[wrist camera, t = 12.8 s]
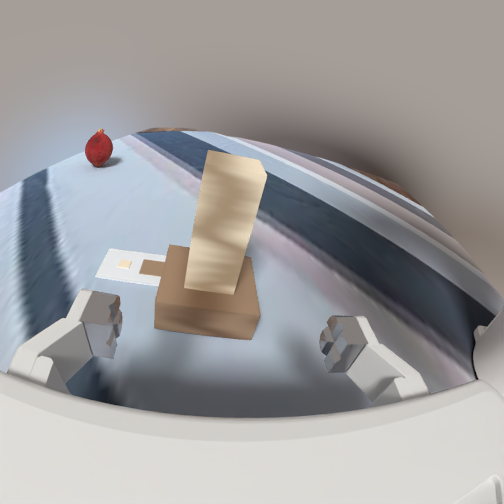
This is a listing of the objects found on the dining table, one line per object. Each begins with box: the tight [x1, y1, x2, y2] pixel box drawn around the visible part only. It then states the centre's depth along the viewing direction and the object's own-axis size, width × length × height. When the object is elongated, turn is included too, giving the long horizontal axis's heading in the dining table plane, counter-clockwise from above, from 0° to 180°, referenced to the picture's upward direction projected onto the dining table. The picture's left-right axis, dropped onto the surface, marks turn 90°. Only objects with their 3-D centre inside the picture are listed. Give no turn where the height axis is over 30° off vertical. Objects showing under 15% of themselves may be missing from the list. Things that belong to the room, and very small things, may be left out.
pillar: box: [184, 150, 267, 295], centre depth 22 cm, size 4×4×10 cm
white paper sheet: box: [95, 248, 166, 287], centre depth 28 cm, size 8×5×1 cm, turn 96°
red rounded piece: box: [85, 129, 113, 167], centre depth 49 cm, size 6×6×8 cm
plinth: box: [154, 245, 261, 340], centre depth 25 cm, size 8×8×3 cm
